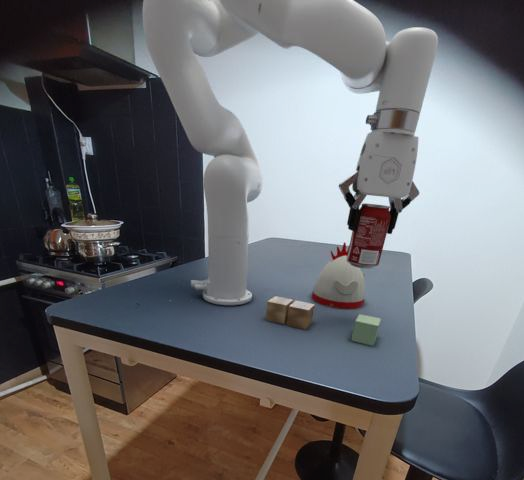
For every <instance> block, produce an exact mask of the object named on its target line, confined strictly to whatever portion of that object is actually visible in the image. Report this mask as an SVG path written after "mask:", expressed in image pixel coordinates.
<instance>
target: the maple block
mask: <svg viewBox="0 0 524 480" xmlns="http://www.w3.org/2000/svg"><path fill="white" fill-rule="evenodd" d="M293 302H294V299H291V298H286V297H281V296H276V295H275V296H272V298H270V299H269V300H267V303H266V305H267V306H266V317H265V320H266V321H269V322H273V323H277V324H281V325H285V324H287V319H288V310H289V306H290V305H291V304H292V303H293Z"/></svg>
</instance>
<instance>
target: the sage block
mask: <svg viewBox="0 0 524 480" xmlns="http://www.w3.org/2000/svg"><path fill="white" fill-rule="evenodd" d="M381 321H382V318H381V317H376V316H371V315H366V314H362V313H359V314H358V316H357V317H356V319H355V321H354V326H353V330H352V335H351V339H350V341H352V342H355V343H359V344H363V345H367V346H371V347H374V345H375V343H376V341H377V337H378V333H379V329H380V325H381Z"/></svg>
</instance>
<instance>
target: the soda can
mask: <svg viewBox="0 0 524 480" xmlns="http://www.w3.org/2000/svg"><path fill="white" fill-rule="evenodd" d="M360 206H361V207H359V209H360V210H361V212H360V217H359V221H358V226H357V230H356V231H352V230H351V236H350V242H349V244H350V245H348V247H349V250H348V249H347V250H348V255H347V259H346V261H347V262H348V263H350V265H352V266H354V267H358V268H361V269H365V270H366V269H367V270H369V269H374V268H376V267H378V266H379V265H380V260H381V257H382V253H383V249H384V245H385V241H386V238H387V235H388V233H387V231H388V227H389V223H390V219H391V215H390V212H389V211H390V205H383V204H377V203H376V204H375V203H367V202H366V203H364V202H362V203H361V204H360Z"/></svg>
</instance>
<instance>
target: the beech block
mask: <svg viewBox="0 0 524 480" xmlns="http://www.w3.org/2000/svg"><path fill="white" fill-rule="evenodd" d="M315 306H316V304H315V303H311V302H306V301H300V300H298V299H297V300H294V301H293V303H292V304H291V305H290V306H289V310H288V319H287V322H286V326H288V327H289V326H290V327H293V328H298V329H301V330H308V328H309V327H310V326H311V325H312V324H313V319H314V313H315Z"/></svg>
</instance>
